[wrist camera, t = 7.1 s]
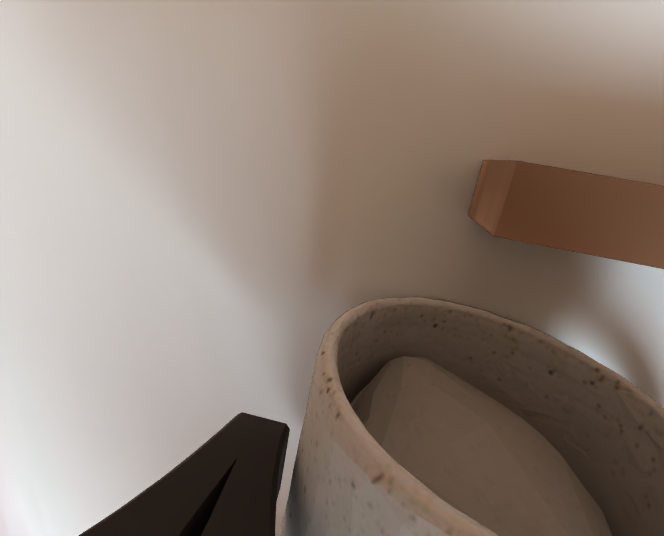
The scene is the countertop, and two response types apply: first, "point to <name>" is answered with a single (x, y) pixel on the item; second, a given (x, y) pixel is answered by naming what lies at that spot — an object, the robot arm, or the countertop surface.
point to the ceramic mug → (470, 432)
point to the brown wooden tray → (571, 211)
